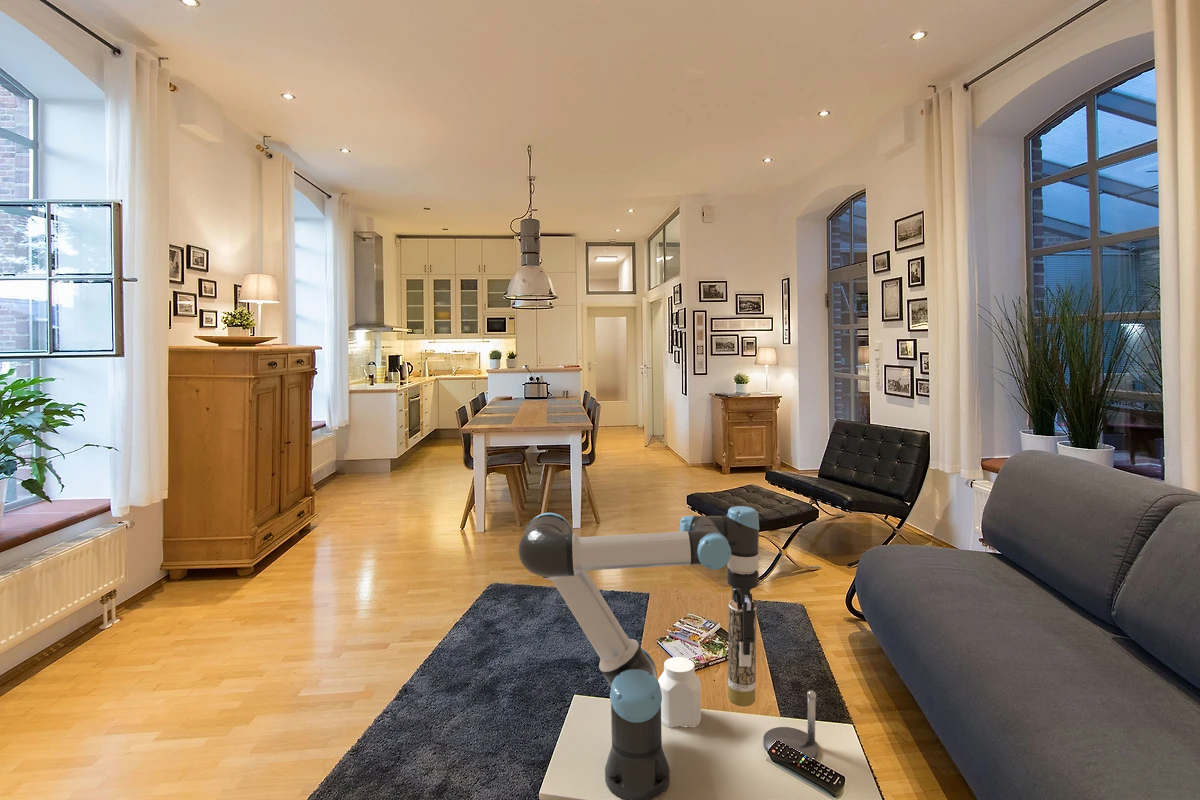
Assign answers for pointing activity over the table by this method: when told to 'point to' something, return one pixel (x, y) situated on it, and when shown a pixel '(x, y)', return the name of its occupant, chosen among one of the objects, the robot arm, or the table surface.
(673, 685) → the jar
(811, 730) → the stand
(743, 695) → the paper tube
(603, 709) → the table surface
